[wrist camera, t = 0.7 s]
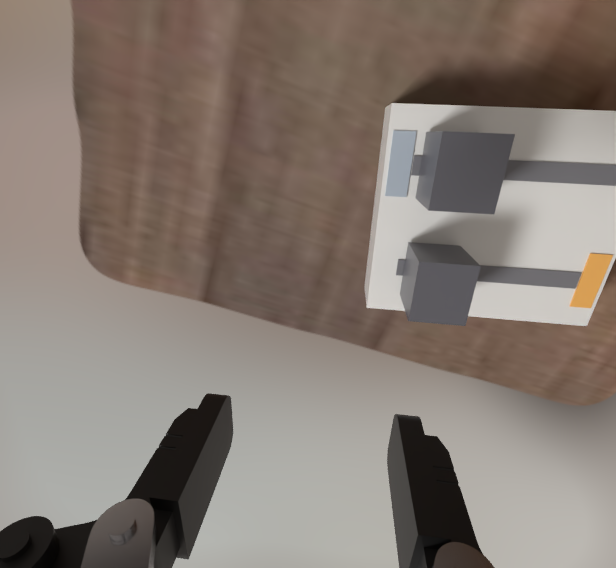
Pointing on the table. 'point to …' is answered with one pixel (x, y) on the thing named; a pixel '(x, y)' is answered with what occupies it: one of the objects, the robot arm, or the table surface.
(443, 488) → the robot arm
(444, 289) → the outer tab
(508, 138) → the inner tab
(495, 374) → the table surface
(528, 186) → the switch panel
